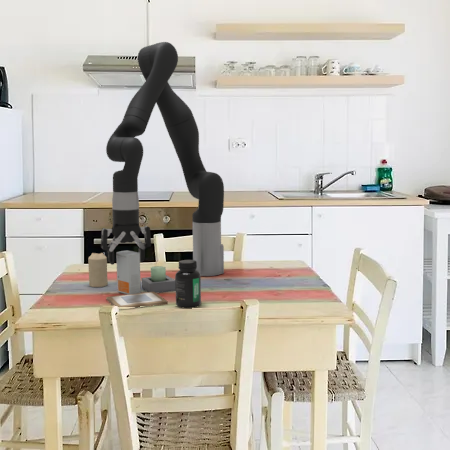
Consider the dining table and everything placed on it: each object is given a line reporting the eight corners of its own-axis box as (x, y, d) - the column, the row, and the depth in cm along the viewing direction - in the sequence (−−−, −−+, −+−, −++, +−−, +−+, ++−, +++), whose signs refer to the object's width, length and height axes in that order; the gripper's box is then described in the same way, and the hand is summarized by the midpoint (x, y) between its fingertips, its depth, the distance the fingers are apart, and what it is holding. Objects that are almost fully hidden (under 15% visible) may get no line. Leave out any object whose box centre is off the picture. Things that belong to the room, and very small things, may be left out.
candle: (108, 282, 207) (107, 251, 206) (106, 287, 202) (105, 254, 200) (90, 283, 207) (89, 251, 206) (87, 287, 202) (86, 254, 200)
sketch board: (154, 294, 193) (154, 290, 193) (167, 304, 182) (167, 300, 182) (106, 299, 187) (106, 296, 187) (117, 310, 177) (117, 306, 176)
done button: (163, 279, 201) (162, 265, 201) (167, 283, 197) (167, 268, 197) (149, 281, 200) (148, 267, 199) (153, 284, 196) (153, 269, 195)
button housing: (167, 284, 204) (166, 275, 204) (175, 290, 197) (175, 280, 196) (141, 287, 201) (141, 277, 200) (149, 293, 194) (149, 283, 193)
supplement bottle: (203, 307, 179) (202, 263, 177) (177, 309, 177) (176, 264, 176) (198, 300, 185) (198, 258, 184) (174, 302, 184) (173, 259, 182)
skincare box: (116, 292, 196) (115, 252, 194) (128, 289, 199) (127, 249, 197) (130, 295, 192) (128, 254, 190) (141, 292, 195) (140, 252, 193)
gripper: (145, 205, 198) (146, 258, 200) (98, 207, 192) (99, 262, 195) (153, 207, 191) (154, 263, 193) (104, 209, 185) (105, 267, 188)
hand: (126, 262), depth 194 cm, fingers open, 8 cm apart
